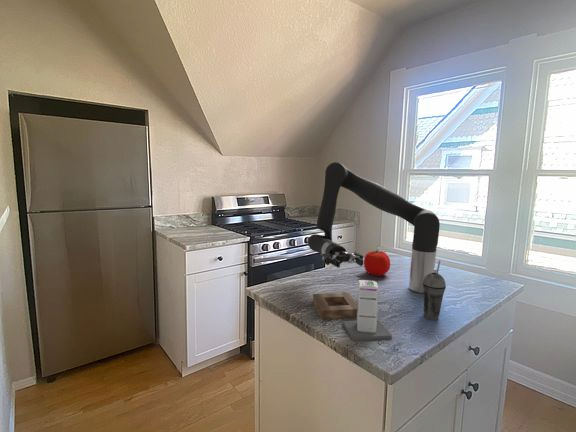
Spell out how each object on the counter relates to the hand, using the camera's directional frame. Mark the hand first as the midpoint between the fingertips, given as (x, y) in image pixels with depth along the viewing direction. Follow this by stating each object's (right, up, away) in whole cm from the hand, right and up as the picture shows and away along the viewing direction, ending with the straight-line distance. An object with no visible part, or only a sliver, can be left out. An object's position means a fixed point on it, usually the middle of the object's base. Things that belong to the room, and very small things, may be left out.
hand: (350, 264), depth 110 cm
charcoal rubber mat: (+2, -19, -12) cm, 23 cm away
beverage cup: (+27, -18, -1) cm, 33 cm away
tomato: (+20, -12, +42) cm, 48 cm away
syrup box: (+2, -18, -12) cm, 22 cm away
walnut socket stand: (-5, -17, +3) cm, 18 cm away
